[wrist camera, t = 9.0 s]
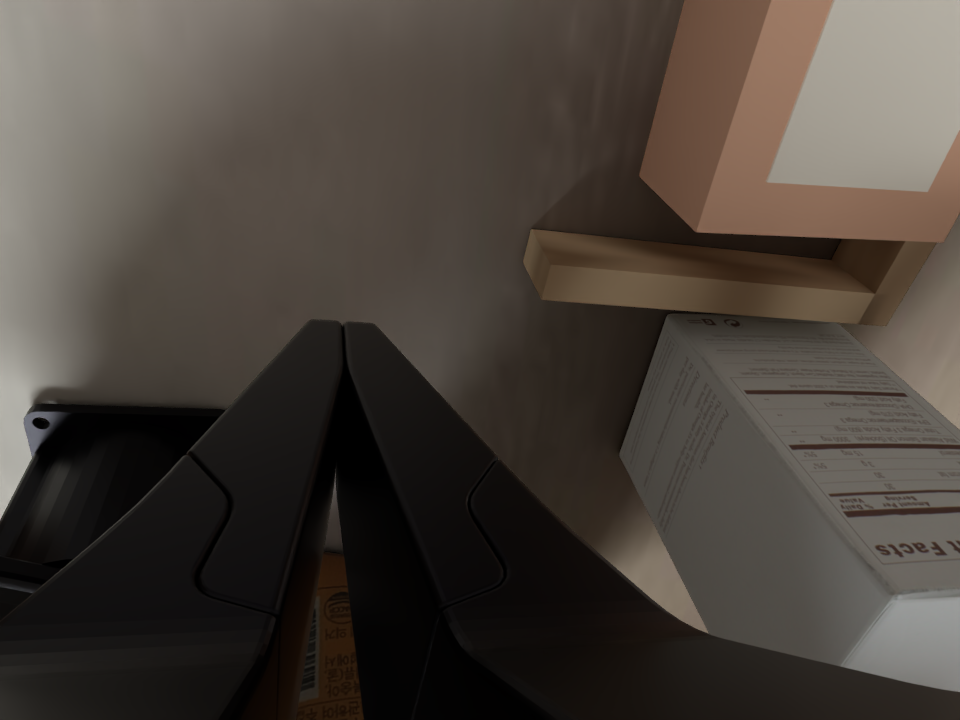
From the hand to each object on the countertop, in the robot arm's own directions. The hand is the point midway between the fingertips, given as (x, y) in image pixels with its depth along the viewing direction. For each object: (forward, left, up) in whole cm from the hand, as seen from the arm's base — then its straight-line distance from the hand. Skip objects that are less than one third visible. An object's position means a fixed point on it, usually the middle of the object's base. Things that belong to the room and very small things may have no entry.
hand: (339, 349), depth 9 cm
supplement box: (+16, -9, -12) cm, 22 cm away
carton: (+13, +4, -12) cm, 19 cm away
